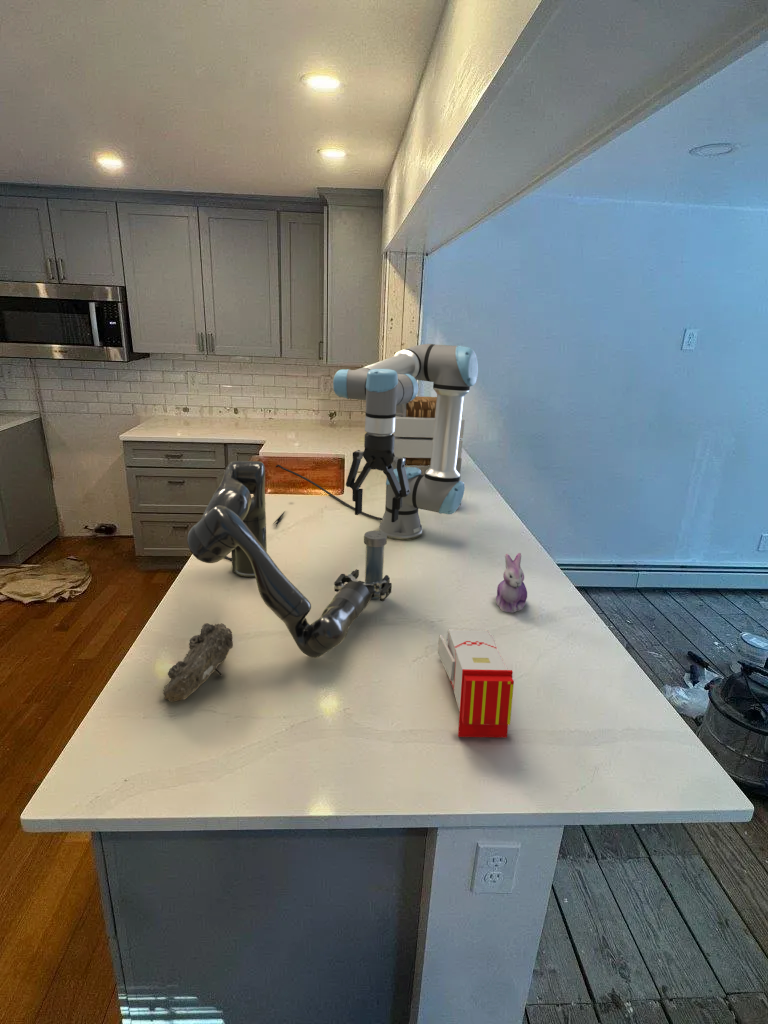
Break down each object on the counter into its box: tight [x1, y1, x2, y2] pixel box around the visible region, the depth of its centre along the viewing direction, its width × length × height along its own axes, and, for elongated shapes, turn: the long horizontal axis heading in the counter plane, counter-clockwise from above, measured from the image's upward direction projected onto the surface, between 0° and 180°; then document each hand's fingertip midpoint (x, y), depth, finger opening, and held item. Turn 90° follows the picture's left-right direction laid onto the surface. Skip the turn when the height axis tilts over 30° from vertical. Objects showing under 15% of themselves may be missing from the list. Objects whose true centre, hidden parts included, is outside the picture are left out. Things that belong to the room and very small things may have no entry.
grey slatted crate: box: [391, 395, 465, 481], centre depth 268 cm, size 34×33×41 cm
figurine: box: [495, 552, 528, 614], centre depth 152 cm, size 9×10×15 cm
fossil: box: [162, 622, 234, 703], centre depth 119 cm, size 22×10×15 cm
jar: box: [364, 544, 385, 600], centre depth 154 cm, size 5×5×18 cm
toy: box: [437, 628, 515, 738], centre depth 117 cm, size 12×13×30 cm
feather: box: [272, 510, 286, 528], centre depth 212 cm, size 2×28×2 cm
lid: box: [363, 530, 388, 547], centre depth 151 cm, size 6×6×2 cm
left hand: (372, 575), depth 153 cm, fingers open, 8 cm apart
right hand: (376, 516), depth 149 cm, fingers open, 10 cm apart
